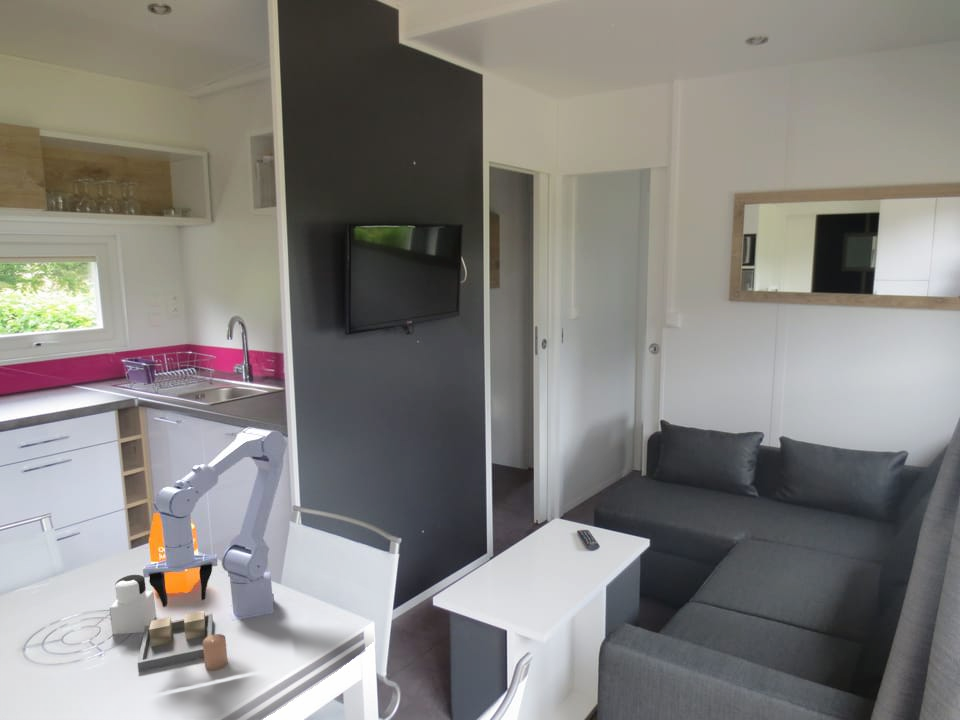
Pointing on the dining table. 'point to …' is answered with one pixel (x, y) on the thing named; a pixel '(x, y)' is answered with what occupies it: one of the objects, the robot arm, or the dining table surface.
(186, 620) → the birch block
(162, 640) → the birch block
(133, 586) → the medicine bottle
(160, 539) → the orange juice
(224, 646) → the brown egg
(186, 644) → the tray
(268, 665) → the dining table surface
